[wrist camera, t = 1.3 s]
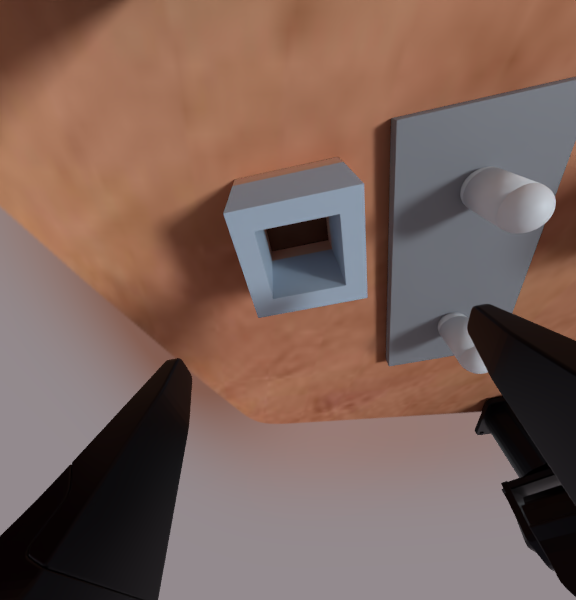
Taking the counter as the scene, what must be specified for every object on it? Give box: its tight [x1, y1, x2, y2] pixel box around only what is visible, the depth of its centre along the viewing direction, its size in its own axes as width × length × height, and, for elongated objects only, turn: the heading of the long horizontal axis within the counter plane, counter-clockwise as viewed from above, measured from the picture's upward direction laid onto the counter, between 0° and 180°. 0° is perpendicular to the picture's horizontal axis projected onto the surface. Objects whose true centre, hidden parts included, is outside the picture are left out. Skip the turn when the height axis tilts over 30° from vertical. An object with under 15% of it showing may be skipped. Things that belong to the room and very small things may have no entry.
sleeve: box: [223, 157, 367, 318], centre depth 15 cm, size 6×6×5 cm
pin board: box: [386, 77, 576, 374], centre depth 17 cm, size 18×9×5 cm, turn 11°
